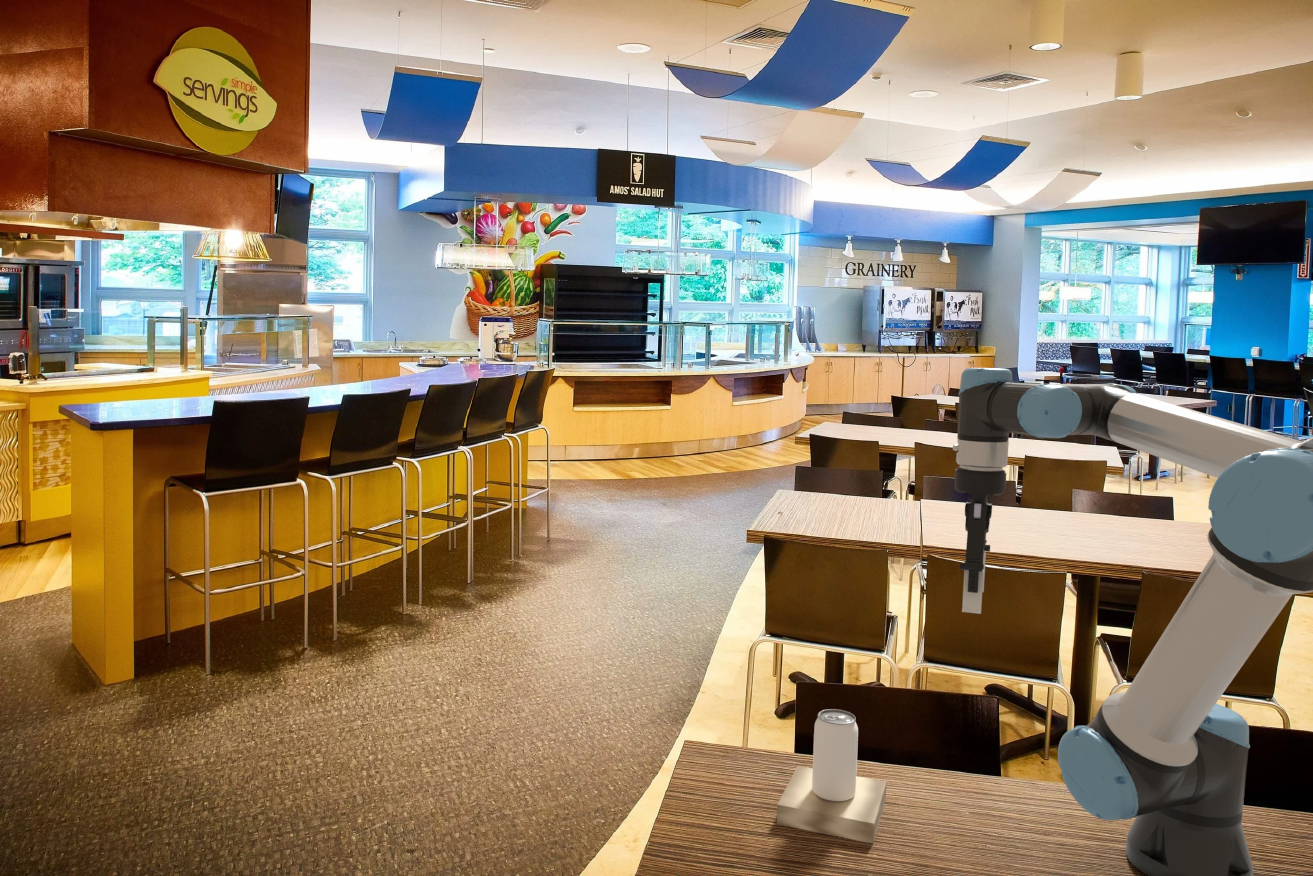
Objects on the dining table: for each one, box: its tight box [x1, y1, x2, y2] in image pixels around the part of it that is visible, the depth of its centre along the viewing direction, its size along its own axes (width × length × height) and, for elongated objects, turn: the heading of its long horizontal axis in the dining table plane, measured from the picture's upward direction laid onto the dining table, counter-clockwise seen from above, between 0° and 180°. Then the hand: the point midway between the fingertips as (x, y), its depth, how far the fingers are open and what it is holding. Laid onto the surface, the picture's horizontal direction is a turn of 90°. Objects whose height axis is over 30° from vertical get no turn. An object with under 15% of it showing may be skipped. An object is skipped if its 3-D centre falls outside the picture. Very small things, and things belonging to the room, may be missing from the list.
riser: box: [776, 765, 887, 844], centre depth 142 cm, size 14×14×3 cm
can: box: [812, 708, 859, 802], centre depth 141 cm, size 6×6×12 cm
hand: (973, 601), depth 148 cm, fingers open, 13 cm apart
